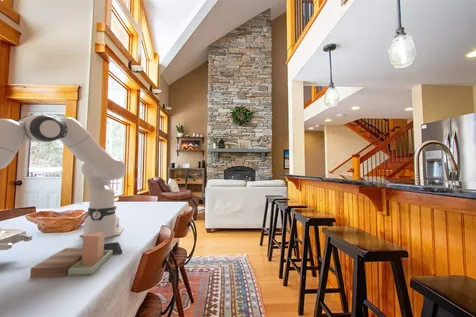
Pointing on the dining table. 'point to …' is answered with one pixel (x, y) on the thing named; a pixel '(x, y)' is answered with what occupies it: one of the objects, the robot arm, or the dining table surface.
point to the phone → (113, 248)
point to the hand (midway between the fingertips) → (21, 242)
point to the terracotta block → (92, 248)
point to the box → (88, 266)
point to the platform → (57, 264)
